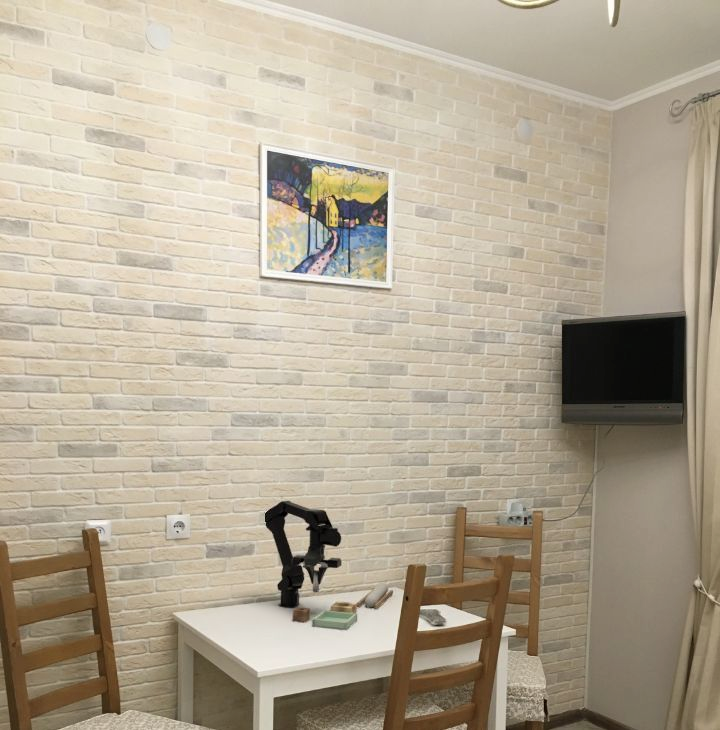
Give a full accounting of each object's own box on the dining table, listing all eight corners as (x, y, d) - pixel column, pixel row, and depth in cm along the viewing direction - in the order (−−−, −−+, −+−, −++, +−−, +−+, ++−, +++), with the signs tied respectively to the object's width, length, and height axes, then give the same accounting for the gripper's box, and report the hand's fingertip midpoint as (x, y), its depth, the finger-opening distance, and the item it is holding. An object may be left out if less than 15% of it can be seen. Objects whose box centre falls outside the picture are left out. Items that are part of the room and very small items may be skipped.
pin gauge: (311, 592, 300) (312, 570, 301) (313, 590, 302) (314, 569, 303) (317, 592, 299) (318, 571, 300) (319, 591, 302) (320, 570, 302)
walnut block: (292, 621, 288) (292, 610, 288) (297, 617, 293) (297, 606, 293) (305, 622, 286) (305, 611, 287) (309, 619, 291) (310, 608, 291)
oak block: (330, 615, 297) (330, 606, 297) (337, 610, 304) (337, 601, 305) (350, 617, 294) (350, 608, 295) (356, 612, 302) (356, 603, 302)
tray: (312, 626, 282) (312, 619, 282) (324, 617, 294) (324, 610, 294) (346, 630, 278) (346, 623, 278) (357, 620, 291) (357, 613, 291)
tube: (377, 599, 308) (390, 585, 332) (365, 594, 309) (378, 580, 334) (373, 612, 308) (385, 596, 333) (361, 606, 309) (374, 591, 334)
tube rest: (356, 607, 309) (356, 602, 310) (374, 592, 334) (374, 588, 334) (376, 609, 307) (376, 604, 307) (392, 594, 332) (393, 590, 332)
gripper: (286, 544, 297) (285, 586, 296) (333, 548, 292) (332, 590, 291) (297, 540, 308) (296, 580, 307) (342, 543, 302) (341, 584, 301)
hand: (316, 584), depth 301 cm, fingers closed on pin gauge, 2 cm apart
